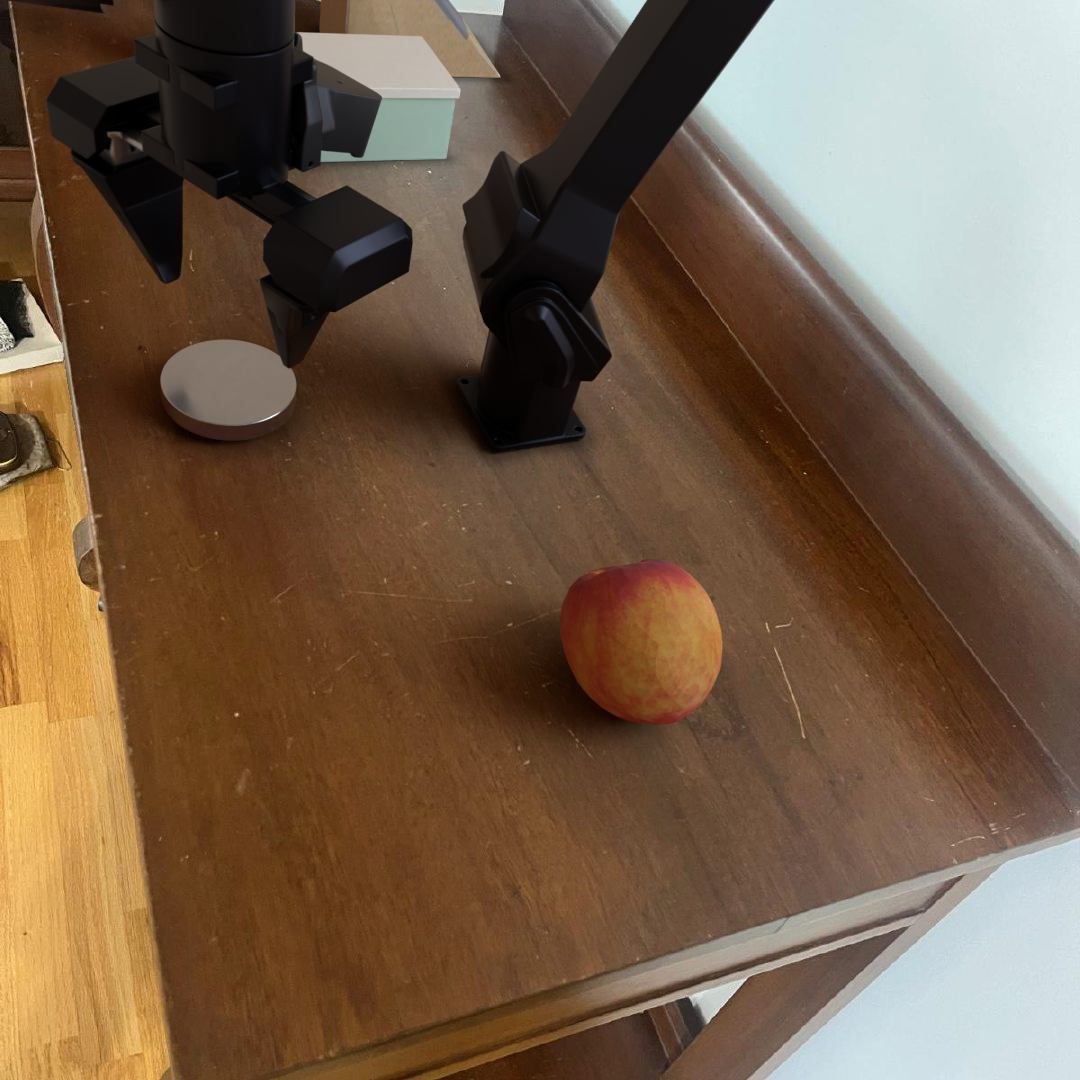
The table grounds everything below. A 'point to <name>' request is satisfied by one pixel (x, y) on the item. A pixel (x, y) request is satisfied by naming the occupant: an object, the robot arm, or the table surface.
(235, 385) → the silver plate
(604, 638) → the fruit
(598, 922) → the table surface
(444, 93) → the lunchbox
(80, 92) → the robot arm
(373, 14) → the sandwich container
